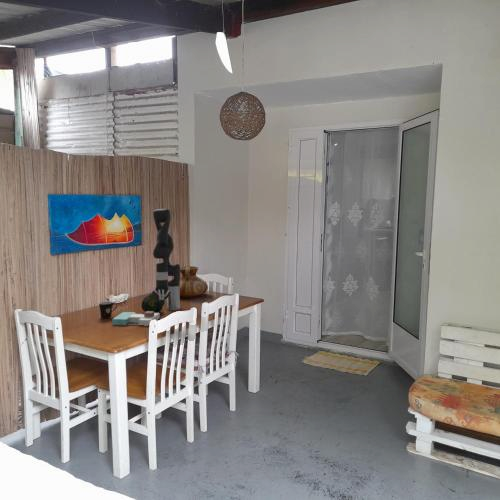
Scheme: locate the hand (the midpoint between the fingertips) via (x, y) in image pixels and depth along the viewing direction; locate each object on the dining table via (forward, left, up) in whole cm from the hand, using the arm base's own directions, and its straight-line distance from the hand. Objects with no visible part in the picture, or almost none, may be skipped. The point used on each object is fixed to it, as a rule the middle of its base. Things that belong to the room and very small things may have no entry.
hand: (162, 305), depth 290 cm
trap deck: (0, -17, -11) cm, 21 cm away
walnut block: (0, -9, -7) cm, 11 cm away
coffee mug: (-8, -40, -12) cm, 42 cm away
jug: (-81, -2, -12) cm, 82 cm away
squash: (-24, -15, -12) cm, 31 cm away
